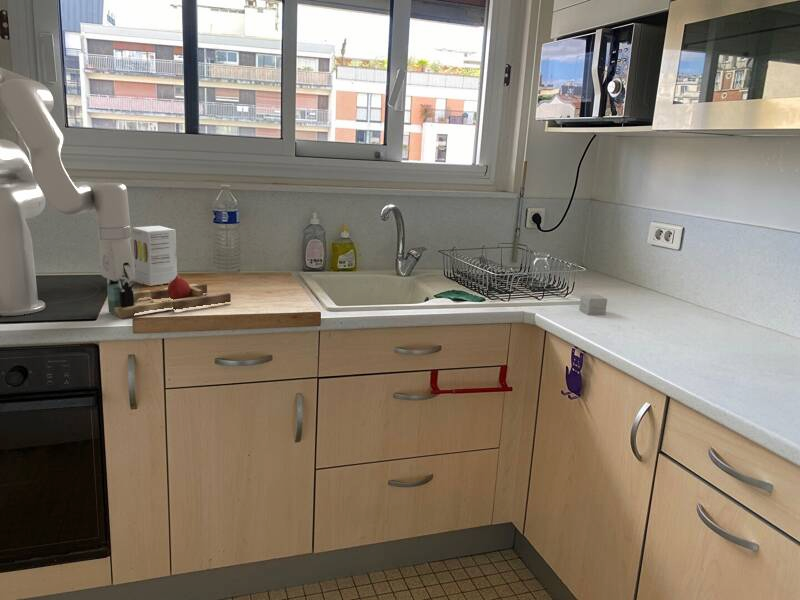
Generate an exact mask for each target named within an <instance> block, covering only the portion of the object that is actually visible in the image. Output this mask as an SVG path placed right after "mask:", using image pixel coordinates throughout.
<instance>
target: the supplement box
mask: <svg viewBox="0 0 800 600" xmlns="http://www.w3.org/2000/svg"><path fill="white" fill-rule="evenodd" d="M176 236H177V233H176V229H174V228H170V227H166V226H162V225H149V226H136V227H135V226H133V227H132V245H133V246H132V247H133V262H134V278H135V281H134V283H135V282H136V283H138V284H140V285H143V284H142V283H145V284H148V285H156V284H163V283H170V282H171V281H172V280H174V279H175V278H176V276H177V275H178V266H177V265H178V264H177V263H178V261H177V237H176Z"/></svg>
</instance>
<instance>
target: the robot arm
mask: <svg viewBox="0 0 800 600" xmlns="http://www.w3.org/2000/svg"><path fill="white" fill-rule="evenodd" d="M54 105H55V104H54V97H53V94H52V92H51V91H50V89H48V87H47V86H46V85H45V84H43V83H41V82H39V81H37V80H34V79H32V78H29V77H26V76H24V75H21V74H19V73H16V72H13V71H11V70H8V69H5V68H3V67H1V66H0V107H1V109H2V111H4V114H5V115H6V117H7V118H8V120H9V122H10V123H11V124H12V126H13V128H14V130H15V131H16V133H17V134H18V135H19V137H20V139H21V140H22V143H23V144H24V145H25V147H26V148H27V151H28V153H29V158H28V156H27V155H26V153H25V151H24V150H23V149H22V148H21V147H20V146H19V145H18V144H17V143H15V142H13V141H11V140H8V139H1V138H0V315H1V316H3V317H5V316H6V317H7V316H8V317H11V316H12V317H13V316H23V315H24V314H25V315H29V314H30V313H31V314H34V313H35V314H36V313H38V312H40V311H43V310H45V308H46V303H45V302H44V301H43V300H41V299H40V300H39V298H38V288H37V278H36V268H35V267H36V266H35V265H36V264H35V257H34V248H33V238H32V234H31V231H30V228H29V225H28V223H27V221H26V220H29V219H32V218H35V217H37V216H39V215H40V214H41V213H42V212H43V211H44V209H45V208H46V207H45V206H46V201H47V202H48V203H49V205H50V206H51V207H52V208H53V209H54V210H55V211H57V212H58V213H59V214H61V215H63V216H67V217H68V216H75V215H79V214H85V213H90V212H93V211H95V217H96V227H97V235H98V236H97V237H98V241H99V248H98V249H99V250H98V251H99V253H98V254H99V268H100V269H99V270H100V275H101V276H102V277H103V278H105V279H106V286H107V285H111V284H119V286H120V290H121V292H119V294H120V304H121V307H122V308H124V307H130V306H135V302H134V296H133V292H134V285H135V284H134V283H135V268H134V254H133V251H132V246H131V240H133V236H132V230H131V229H132V228H131V219H130V218H131V217H130V207H129V197H128V189H127V186H126V185H125V184H124V183H121V182H91V181H87V180H86V181H83V180H82V181H72V179H71V178H70V176H69V174H68V172H67V170H66V169H65V166H64V165H63V161H62V158H61V156H62V155H61V150H62V147H63V145H64V141H65V136H64V134H63V132H62V131H61V129H60V127H59V126H58V124H57V123H56V121H55V119H54V118H53V116H52V115H51V112H52V110H53V109H54ZM123 283H124V285H123Z"/></svg>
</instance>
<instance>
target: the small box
mask: <svg viewBox="0 0 800 600" xmlns="http://www.w3.org/2000/svg"><path fill="white" fill-rule="evenodd" d="M607 304H608V298H605V297H603V295H602V296H601V295H599V294H593V293H591V294H589V293H588V294H581V295H580V301H579V311H580V312H582V313H584V314H585V315H588V316H605V315H606V312H607Z"/></svg>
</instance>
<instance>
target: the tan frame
mask: <svg viewBox="0 0 800 600" xmlns="http://www.w3.org/2000/svg"><path fill="white" fill-rule="evenodd" d="M124 284H125V282H123V285H124ZM188 285H189V287H190V295H189V297H188V298H182V299H175V300H168V301H162V302H155V303H153V302H148V303H142V304H137V305H135V304H134V306H130V307H124V308H122V307H121V304H120V294H119V292H121V290H120V286H119V284H111V285H107V284H106V289H107V290H106V291H107V293H106V294H107V305H108V308H107V309H108V313H111V314H112V315H114V316H115V317H118V318H119V319H127V318H131V317H132V318H133V316H134V314H135V313H139V312H144V311H149V310H157V309H164V308H172V307H173V301H177V300H183V299H190V298H197V297H203V296H204V295H203V290H200V289H198V288H195V287H193V286H190V285H191V284H188ZM134 317H135V316H134Z"/></svg>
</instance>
